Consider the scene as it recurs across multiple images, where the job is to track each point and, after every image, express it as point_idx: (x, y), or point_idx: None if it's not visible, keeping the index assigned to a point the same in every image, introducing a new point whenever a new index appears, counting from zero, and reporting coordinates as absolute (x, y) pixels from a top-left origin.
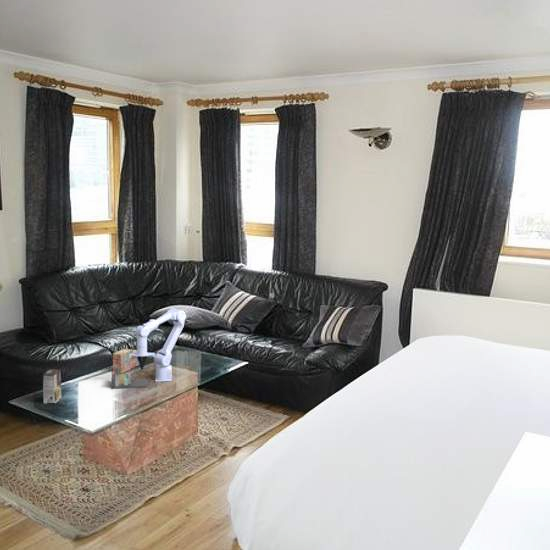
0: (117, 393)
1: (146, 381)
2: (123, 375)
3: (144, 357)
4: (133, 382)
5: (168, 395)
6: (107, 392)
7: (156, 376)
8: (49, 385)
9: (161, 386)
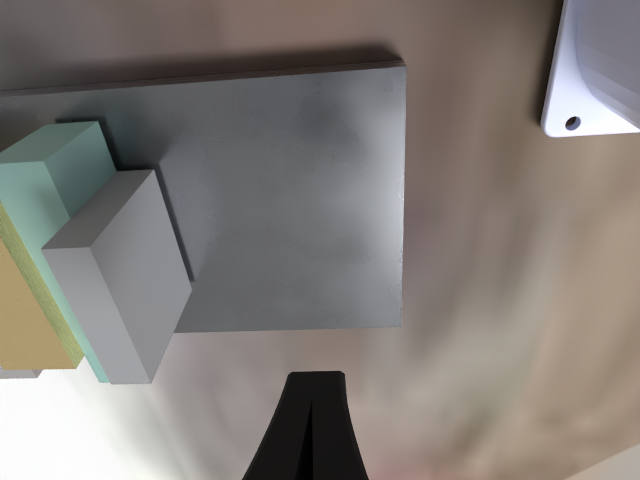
0: (132, 412)
1: (396, 184)
2: (16, 289)
3: None
4: (212, 213)
5: (569, 471)
6: (34, 390)
7: (604, 76)
8: None
9: (572, 293)
